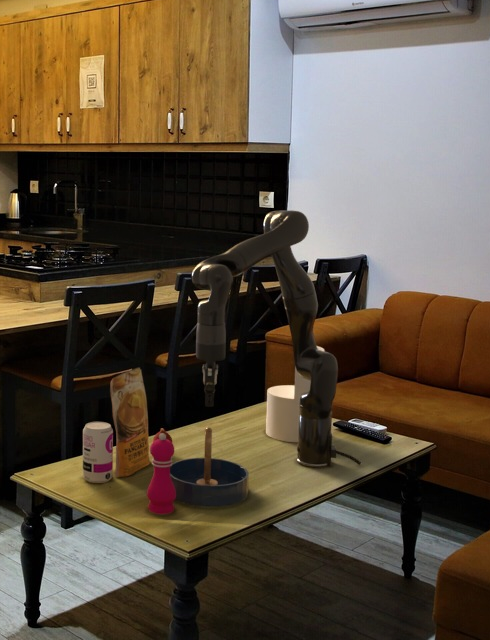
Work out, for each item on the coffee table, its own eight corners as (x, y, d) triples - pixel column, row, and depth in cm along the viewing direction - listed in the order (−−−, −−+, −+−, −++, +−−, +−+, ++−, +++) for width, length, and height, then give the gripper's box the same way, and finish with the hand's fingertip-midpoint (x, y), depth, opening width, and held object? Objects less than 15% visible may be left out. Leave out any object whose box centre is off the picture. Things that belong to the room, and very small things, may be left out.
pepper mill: (144, 505, 222) (146, 429, 220) (173, 505, 223) (174, 428, 220) (148, 517, 215) (149, 438, 213) (177, 516, 216) (179, 437, 213)
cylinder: (320, 428, 290) (324, 344, 286) (320, 444, 273) (324, 355, 269) (267, 424, 293) (270, 341, 290) (264, 439, 277) (267, 352, 273)
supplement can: (116, 475, 244) (117, 422, 242) (106, 485, 236) (107, 431, 234) (89, 471, 246) (89, 419, 245) (78, 481, 239) (78, 428, 237)
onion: (172, 451, 264) (173, 426, 263) (171, 458, 259) (172, 431, 258) (153, 451, 265) (153, 425, 264) (152, 457, 259) (152, 430, 258)
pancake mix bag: (101, 476, 243) (101, 377, 240) (138, 457, 259) (139, 364, 255) (121, 481, 239) (122, 380, 236) (158, 462, 255) (159, 367, 251)
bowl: (247, 481, 241) (247, 460, 240) (248, 511, 220) (249, 488, 219) (169, 476, 243) (169, 455, 243) (163, 506, 222) (164, 483, 222)
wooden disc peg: (217, 487, 234) (219, 424, 232) (217, 495, 228) (219, 431, 226) (196, 486, 235) (198, 423, 232) (195, 494, 229) (197, 430, 227)
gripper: (225, 346, 219) (224, 410, 221) (225, 335, 233) (224, 395, 235) (195, 345, 220) (194, 408, 222) (197, 334, 234) (196, 394, 236)
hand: (209, 401), depth 229 cm, fingers open, 8 cm apart
